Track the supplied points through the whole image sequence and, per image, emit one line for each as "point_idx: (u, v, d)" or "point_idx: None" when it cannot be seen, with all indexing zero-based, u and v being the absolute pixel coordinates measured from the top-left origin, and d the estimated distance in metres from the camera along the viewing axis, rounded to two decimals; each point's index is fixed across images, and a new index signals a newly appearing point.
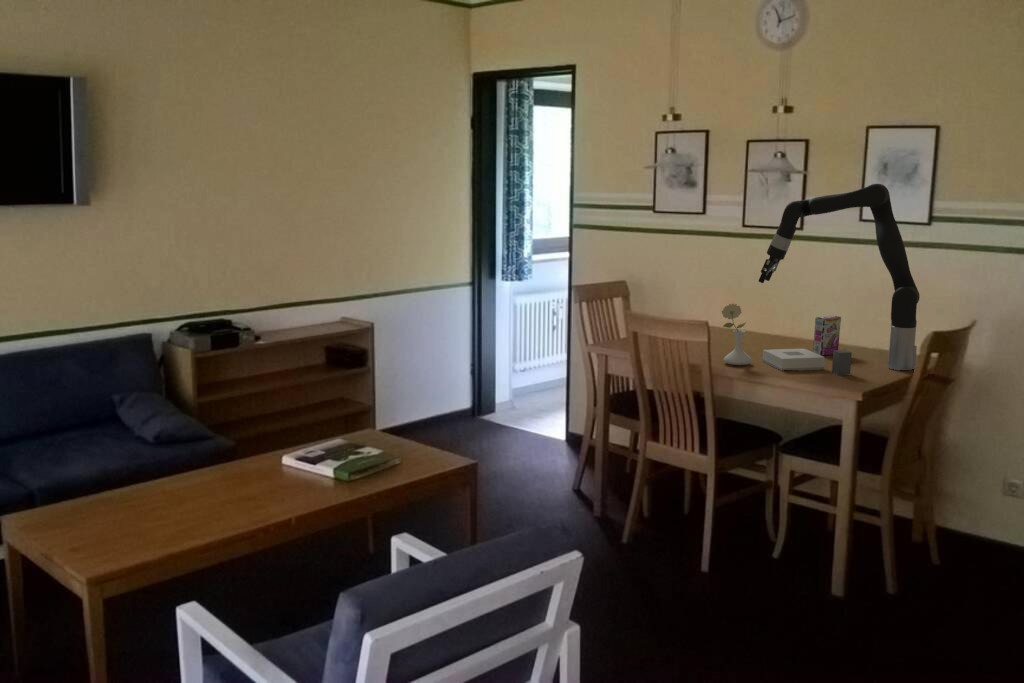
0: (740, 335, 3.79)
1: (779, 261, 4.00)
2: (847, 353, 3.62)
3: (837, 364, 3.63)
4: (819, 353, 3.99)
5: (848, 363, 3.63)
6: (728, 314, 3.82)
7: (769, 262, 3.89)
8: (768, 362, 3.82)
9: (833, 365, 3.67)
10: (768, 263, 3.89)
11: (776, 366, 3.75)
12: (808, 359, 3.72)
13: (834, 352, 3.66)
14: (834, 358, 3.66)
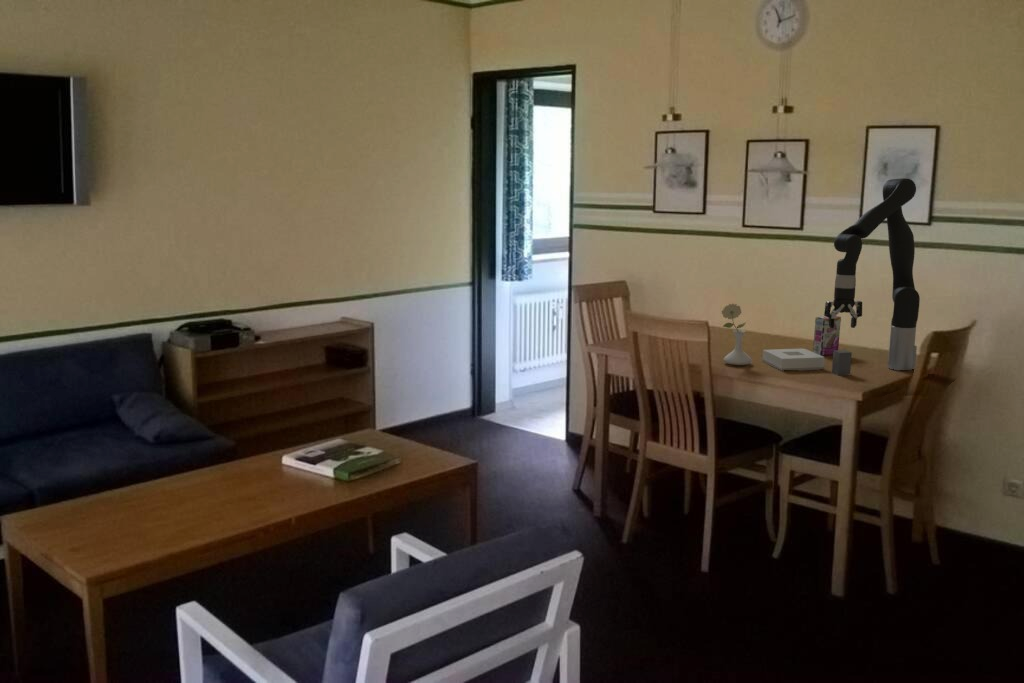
0: (740, 335, 3.79)
1: (825, 304, 3.62)
2: (847, 353, 3.62)
3: (837, 364, 3.63)
4: (819, 353, 3.99)
5: (848, 363, 3.63)
6: (728, 314, 3.82)
7: None
8: (768, 362, 3.82)
9: (833, 365, 3.67)
10: None
11: (776, 366, 3.75)
12: (808, 359, 3.72)
13: (834, 352, 3.66)
14: (834, 358, 3.66)
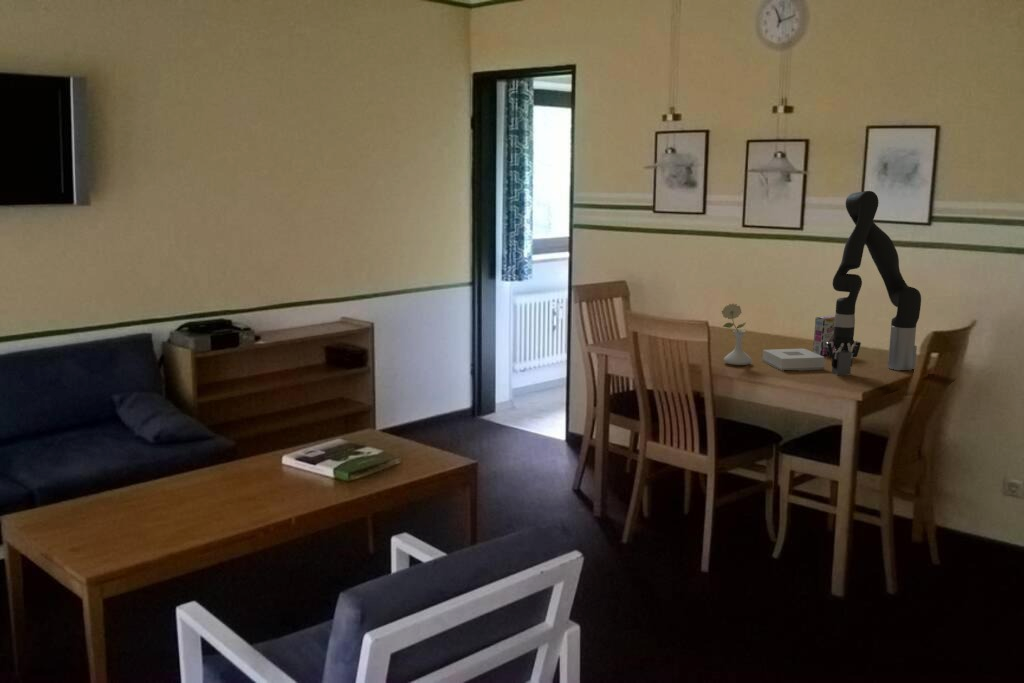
0: (740, 335, 3.79)
1: None
2: (847, 353, 3.62)
3: (837, 364, 3.63)
4: (819, 353, 3.99)
5: (848, 363, 3.63)
6: (728, 314, 3.82)
7: None
8: (768, 362, 3.82)
9: None
10: None
11: (776, 366, 3.75)
12: (808, 359, 3.72)
13: None
14: None
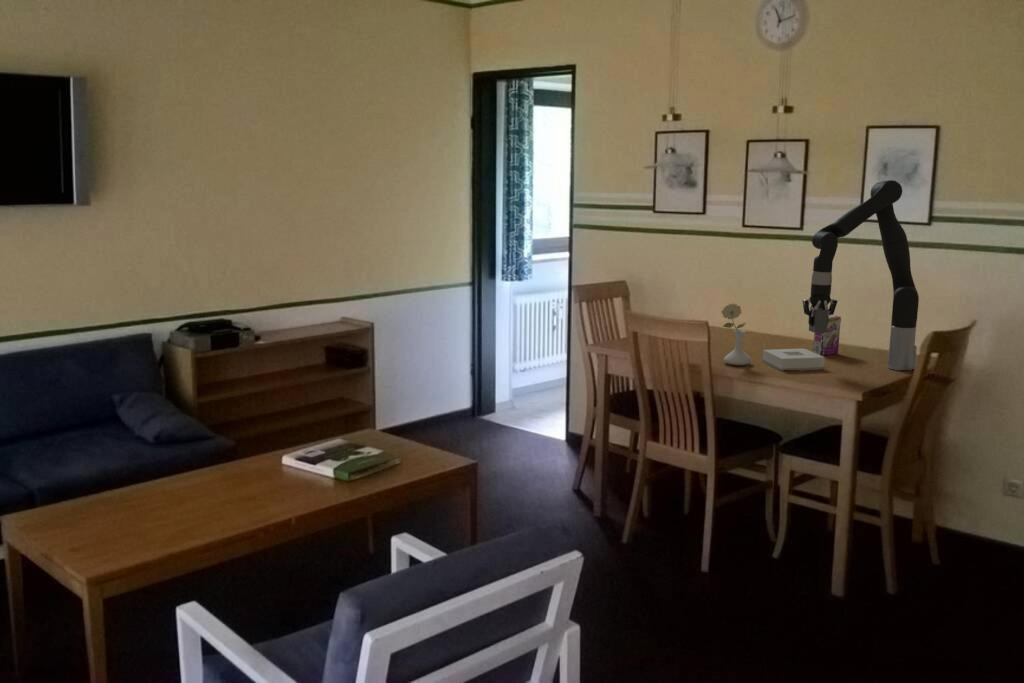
0: (740, 335, 3.79)
1: None
2: (824, 311, 3.66)
3: (814, 321, 3.68)
4: (819, 353, 3.99)
5: (824, 320, 3.67)
6: (728, 314, 3.82)
7: None
8: (768, 362, 3.82)
9: None
10: None
11: (776, 366, 3.75)
12: (808, 359, 3.72)
13: None
14: None
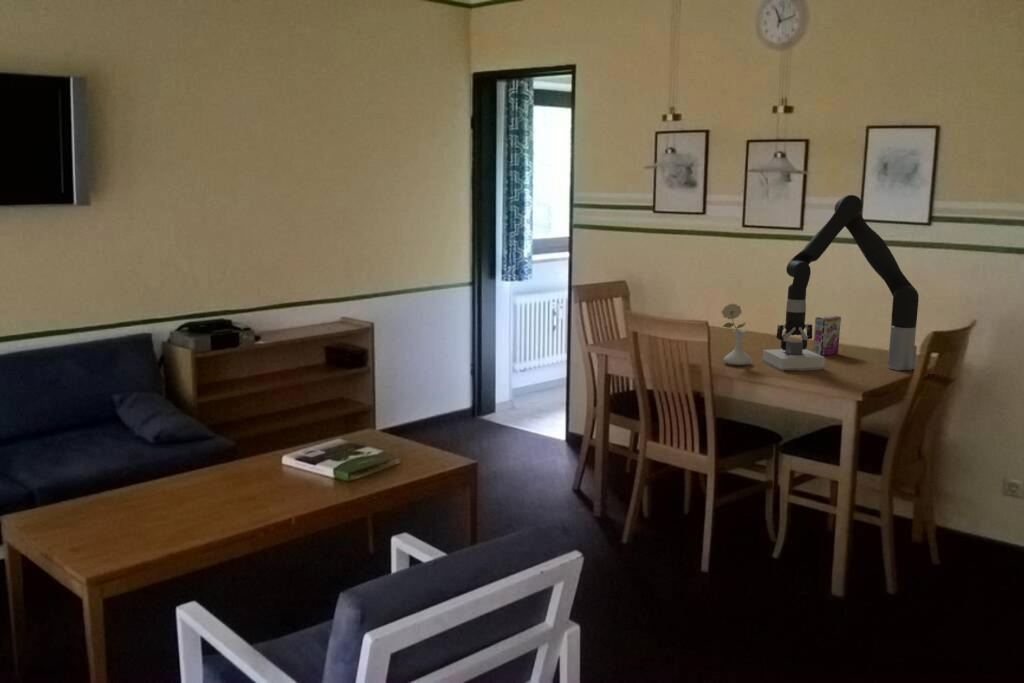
0: (740, 335, 3.79)
1: None
2: (798, 343, 3.77)
3: (789, 354, 3.78)
4: (819, 353, 3.99)
5: (799, 352, 3.77)
6: (728, 314, 3.82)
7: None
8: (768, 362, 3.82)
9: None
10: None
11: (776, 366, 3.75)
12: (808, 359, 3.72)
13: (786, 342, 3.80)
14: (786, 348, 3.80)
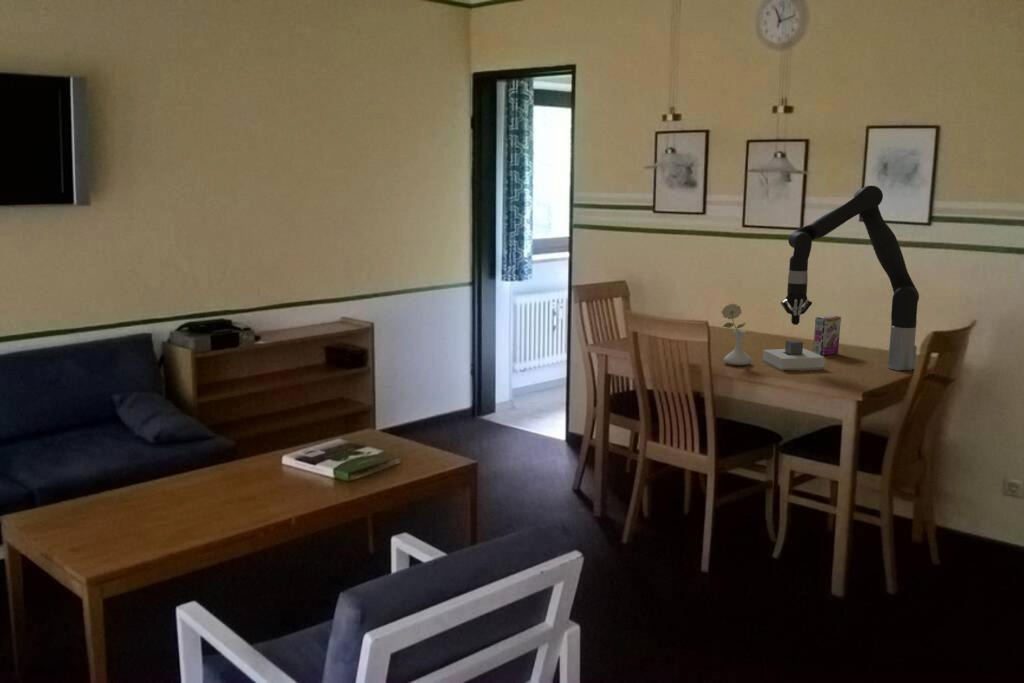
0: (740, 335, 3.79)
1: (782, 305, 3.76)
2: (798, 343, 3.77)
3: (789, 354, 3.78)
4: (819, 353, 3.99)
5: (799, 352, 3.77)
6: (728, 314, 3.82)
7: None
8: (768, 362, 3.82)
9: None
10: None
11: (776, 366, 3.75)
12: (808, 359, 3.72)
13: (786, 342, 3.80)
14: (786, 348, 3.80)
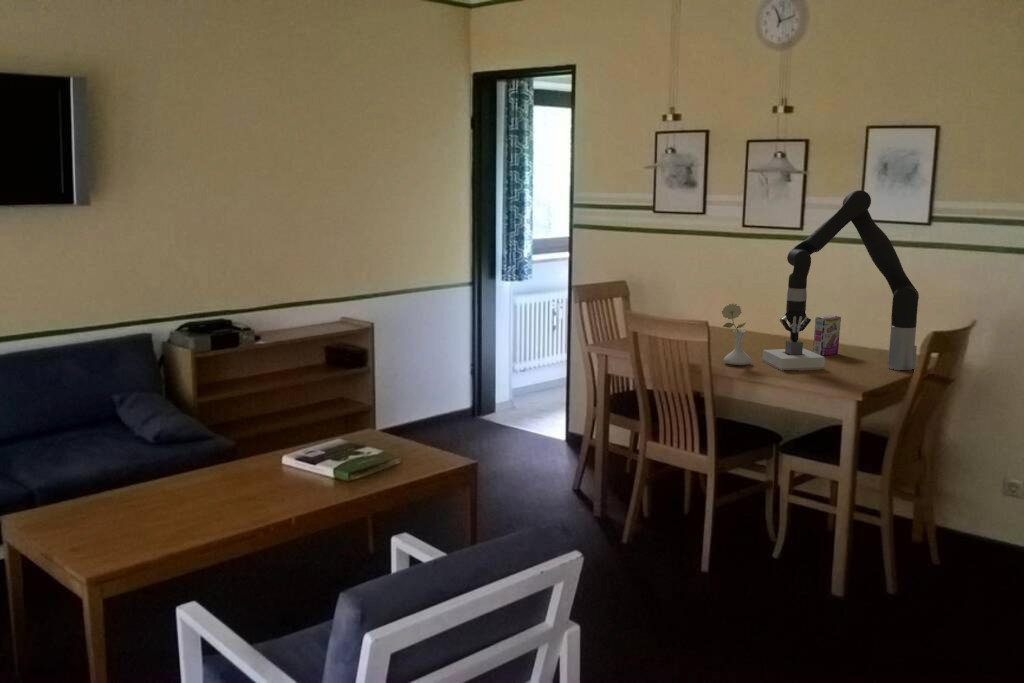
0: (740, 335, 3.79)
1: (781, 322, 3.78)
2: (798, 343, 3.77)
3: (789, 354, 3.78)
4: (819, 353, 3.99)
5: (799, 352, 3.77)
6: (728, 314, 3.82)
7: None
8: (768, 362, 3.82)
9: None
10: None
11: (776, 366, 3.75)
12: (808, 359, 3.72)
13: (786, 342, 3.80)
14: (786, 348, 3.80)
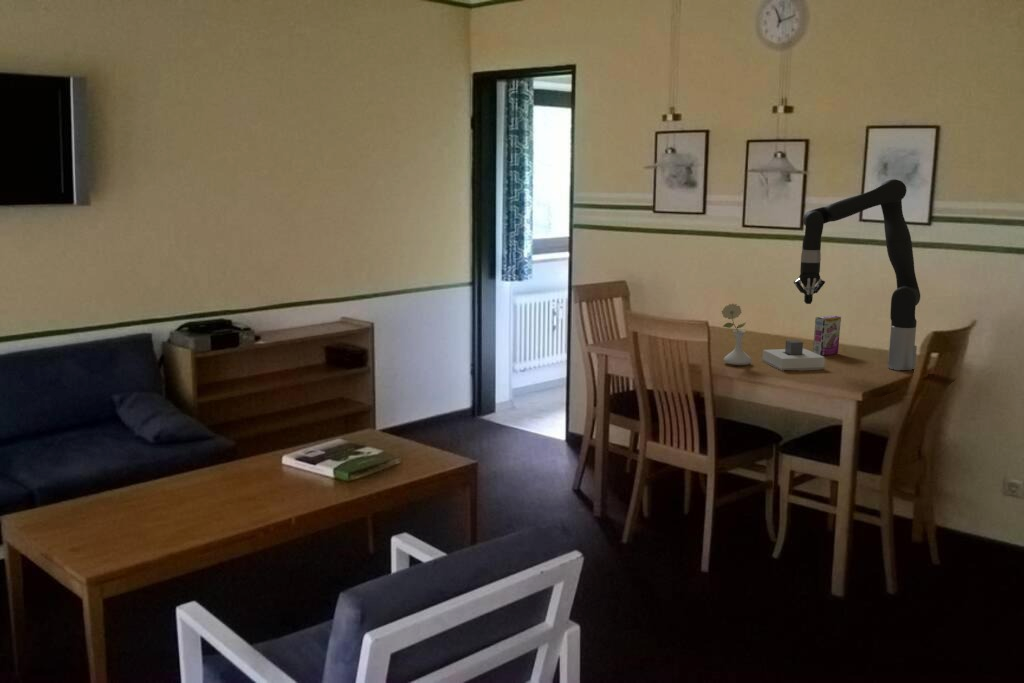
0: (740, 335, 3.79)
1: (795, 284, 3.78)
2: (798, 343, 3.77)
3: (789, 354, 3.78)
4: (819, 353, 3.99)
5: (799, 352, 3.77)
6: (728, 314, 3.82)
7: None
8: (768, 362, 3.82)
9: None
10: None
11: (776, 366, 3.75)
12: (808, 359, 3.72)
13: (786, 342, 3.80)
14: (786, 348, 3.80)
